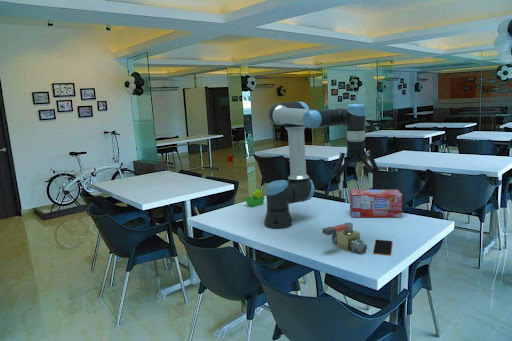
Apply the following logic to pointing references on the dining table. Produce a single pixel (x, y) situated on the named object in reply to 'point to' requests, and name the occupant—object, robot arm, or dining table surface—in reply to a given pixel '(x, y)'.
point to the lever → (338, 229)
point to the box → (376, 203)
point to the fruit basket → (255, 199)
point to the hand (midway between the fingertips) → (355, 188)
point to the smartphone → (383, 247)
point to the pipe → (349, 241)
